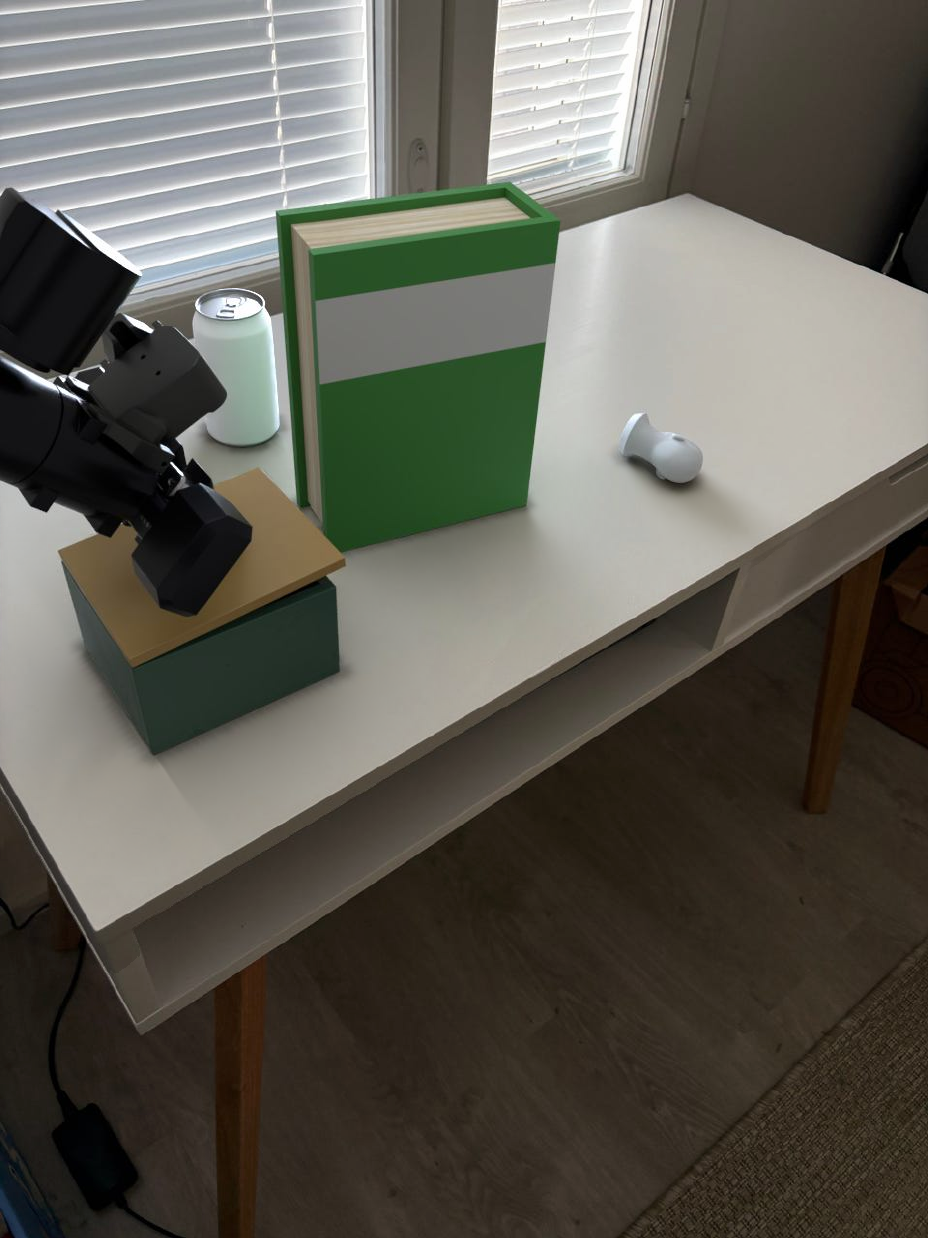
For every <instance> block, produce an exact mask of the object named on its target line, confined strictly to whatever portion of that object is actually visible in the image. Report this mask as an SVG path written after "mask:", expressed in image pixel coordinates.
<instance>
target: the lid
mask: <svg viewBox="0 0 928 1238" xmlns="http://www.w3.org/2000/svg"><path fill="white" fill-rule="evenodd" d="M213 485H214V490H215V491H216V492H218V493H219V494H220V495H222V496H223V497H224V498H226V499H227V500H229V501H230V502H231V503H232V504H233V505H234V506H235V507H236V509H237V510H238V511H239V512H240V513H241V514H242V515H243V516H244V518H245V519H246V520H247V521H248V522H249V523H250V524H251V525H252V527H253V530H252V541H251V542H250V544H249V545H248V546H247V548H246V549H245V550H244V552H243V553H242V555H241V556H240V557H239V559H238V560H237V561H236V563H235V564H234V565H233V567H232V568H231V570H230V571H229V572H228V574H227V575H226V576H225V578H224V579H223V580H222V582H221V583H220V585H219V586H218V587H217V589H216V590H215V591H214V593H213V594H212V595H211V597H210V598H209V599H208V601H207V602H206V604H205V605H204V606H203V608H202V609H201V610H200V612H199V613H198V614H197V615H196V616H191V617H184V616H181V615H178V614H175V613H172V612H169V611H166V610H163V609H161V608H160V607H159V606H158V605H157V603H156V602H155V601H154V599H153V598H152V596H151V595H150V594H149V592H148V591H147V589H146V588H145V587H144V585H143V584H142V582H141V581H140V580H139V578H138V577H137V576H136V574H135V571H134V567H133V562H132V558H131V554H132V553H133V551H134V550H135V549H136V547H137V546H138V544H137V542H136V541H135V537H136V536H137V535H138V534H137V533H136V531H135V530H134V529H133V527H128V526H124V525H123V523H121V524H120V526H119V527H118V529H117V530H116V531H115V533H114V534H113V536H112V537H111V538H109V537H107V536H104V535H102V534H99V533H96V534H93V535H91V536H89V537H86V538H84V539H82V540H79V541H77V542H74V543H72V544H70V545H67V546H64V547H62V548H60V549H58V550H57V554H58V556H59V558H60V561H61V560H62V562H63V563H64V565H65V566H66V568H67V569H68V571H69V572H70V574H71V575H72V577H73V579H74V580H75V582H76V583H77V585H78V586H79V588H80V589H81V591H82V592H83V594H84V595H85V597H86V598H87V600H88V601H89V603H90V605H91V606H92V608H93V609H94V611H95V612H96V614H97V615H98V617H99V618H100V620H101V621H102V623H103V624H104V626H105V628H106V629H107V631H108V632H109V634H110V635H111V637H112V638H113V640H114V641H115V643H116V644H117V646H118V647H119V649H120V650H121V652H122V654H123V655H124V657H125V658H126V660H127V661H128V663H129V664H130V666H131V667H132V668H134V667H136V666H138V665H140V664H142V663H144V662H146V661H148V660H150V659H153V658H155V657H157V656H159V655H161V654H163V653H165V652H167V651H169V650H171V649H174V648H176V647H178V646H180V645H182V644H184V643H186V642H188V641H190V640H192V639H194V638H197V637H199V636H201V635H203V634H205V633H207V632H209V631H211V630H213V629H215V628H217V627H220V626H222V625H224V624H226V623H228V622H230V621H232V620H234V619H236V618H238V617H240V616H243V615H245V614H247V613H249V612H251V611H253V610H255V609H257V608H259V607H261V606H263V605H266V604H268V603H270V602H272V601H274V600H276V599H278V598H280V597H282V596H284V595H287V594H289V593H291V592H293V591H295V590H297V589H299V588H301V587H303V586H305V585H307V584H310V583H312V582H314V581H316V580H318V579H320V578H322V577H324V576H328V575H330V574H333V573H336V571H339V570H341V569H343V568H345V567H347V561H346V557H345V556H344V554H343V553H342V552H340V551H339V550H338V549H337V548H336V547H335V546H334V545H333V544H332V543H331V542H330V541H329V540H328V539H327V538H326V537H325V536H324V535H323V532H322V531H321V530H320V529H319V528H318V527H317V526H316V525H315V524H314V523H313V522H312V521H311V520H310V519H309V517H308V516H306V515H305V513H304V512H303V511H302V509H300V507H299V506H297V505H296V504H295V503H294V502H293V501H292V500H291V499H290V498H289V496H287V495H286V493H284V491H283V490H282V489H281V488H280V487H279V486H278V485H277V484H276V482H274V481H273V480H272V479H271V477H269V476H268V474H266V472H265V471H264V470H263V469H262V468H261V467H260V466H257V467H255V468H253V469H249V470H248V471H245V472H243V473H241V474H238V475H235V476H233V477H231V478H228V479H226V480H224V481H222V482H219V483H216V484H213Z"/></svg>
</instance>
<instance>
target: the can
mask: <svg viewBox="0 0 928 1238" xmlns="http://www.w3.org/2000/svg"><path fill="white" fill-rule="evenodd" d="M265 304H266V303H265V300H264V298H263V297H262V296H261V295H260V294H258V293H256V292H254V291H251V290H248V289H243V288H219V289H214V290H211V291H208V292H205V293H203V294H202V295H200V296H199V297H198V298H197V299H196V300H195V302H194V308H195V312H194V315H193V318H192V334H193V341H194V347H195V348H196V349H197V350H198V351H199V352H200V354H201V355H202V357H203V358H204V359H205V361H206V362H207V364H208V365H209V367H210V368H211V369H212V371H213V372H214V374H215V375H216V377H217V378H218V379H219V381H220V382H221V384H222V385H223V387H224V388H225V389H226V391H227V398H226V400H225V402H224V403H223V405H222V406H221V407H220V408H219V409H217V410H216V411H215V412H213V413H207V414H206V415H205V416H204V418H205V419H204V420H205V426H206V430H207V432H208V434H209V435H210V437H212V438H213V439H214V440H215V441H216V442H219V444H223V445H224V446H229V447H234V448H235V447H236V448H247V447H252V446H253V447H254V446H258V445H261V444H263V443H265V442H267V441H269V440H270V439H271V438H272V437H273V436H275V434H276V433H277V432H278V430H279V427H280V411H279V398H278V386H277V385H278V384H277V372H276V362H275V361H276V360H275V349H274V348H275V347H274V339H273V338H274V337H273V336H274V335H273V327H272V326H273V325H272V320H271V316H270V315H269V312H268V311H267V309H266V308H265Z"/></svg>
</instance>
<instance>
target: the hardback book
mask: <svg viewBox="0 0 928 1238" xmlns="http://www.w3.org/2000/svg"><path fill="white" fill-rule="evenodd" d="M275 222H276V234H277V236H276V237H277V248H278V261H279V262H278V263H279V275H280V290H281V291H280V292H281V305H282V318H283V319H282V320H283V332H284V333H283V334H284V345H285V346H284V348H285V355H286V356H285V357H286V358H285V359H286V360H285V361H286V375H287V386H288V387H287V388H288V400H289V401H288V403H289V413H290V427H291V443H292V452H293V453H292V455H293V456H292V457H293V470H294V483H295V484H294V485H295V497H296V504H297V505H298V508H299V509H300V510H302V509H306V508H310V507H311V508H312V510H313V511H314V513H315V515H316V517H317V518H318V520H319V521H320V523H321V525H322V534H323V535H324V536H325V537H326V538H327V539H328V540H329V541H330V542H331V543H332V544H333V545H334V546H335V547H336V548H337V549H338V550H339V551H340V553H343V552H347V551H352V550H356V549H359V548H364V547H367V546H371V545H374V544H378V543H383V542H388V541H391V540H395V539H399V538H403V537H408V536H410V535H415V534H418V533H422V532H426V531H430V530H435V529H439V528H442V527H446V526H450V525H454V524H458V523H463V522H466V521H470V520H471V521H472V520H474V519H478V518H482V517H486V516H491V515H494V514H498V513H502V512H506V511H510V510H514V509H519V508H521V507H526V506H527V505H528V504H527V503H528V497H529V488H530V480H531V479H530V478H531V471H532V464H533V455H534V445H535V439H536V429H537V421H538V414H539V405H540V396H541V387H542V380H543V371H544V362H545V353H546V348H547V347H546V345H547V339H548V329H549V321H550V313H551V312H550V311H551V305H552V295H553V289H554V288H553V287H554V279H555V271H556V270H555V269H556V263H557V254H558V246H559V238H560V229H561V219H560V218H559V217H557V216H556V215H555V214H554V213H552V212H551V211H549V210H548V209H546V208H545V207H544V206H543V205H542V204H541V203H539V202H538V201H536V200H535V199H534V198H533V197H531V196H530V195H528V194H527V193H525V192H524V191H523V190H522V189H520V188H519V187H518V186H516V185H515V184H514V183H512V182H511V181H505V182H496V183H488V184H481V185H474V186H473V185H472V186H463V187H456V188H448V189H440V190H431V191H423V192H416V193H415V192H414V193H408V194H398V195H391V196H382V197H375V198H366V199H358V200H350V201H340V202H335V203H325V204H318V205H310V206H301V207H293V208H285V209H277V210H275Z"/></svg>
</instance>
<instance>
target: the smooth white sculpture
mask: <svg viewBox="0 0 928 1238" xmlns="http://www.w3.org/2000/svg"><path fill="white" fill-rule="evenodd" d="M618 444H619V445H618V447H619V450H620V451H621V453H622V456H623V457H624V458H626V457H630V456H631V457H632V456H638V457H640V458H642V459H644V460H646V461H647V462H648V463H650V464H651V465H652V466H654V467H655V474H656V476H657V477H658V479H661V480H663V481H664V480H669V481H670V482H673V483H677V484H683V483H687V482H690V481H692V480H693V479H695V478H696V477H697V476H698V474H699V473H700V472H701V470H702V467H703V462H704V455H703V452H702V450H701V448H700V447H699V445H697V444H696V443H695V441H694V442H693V441H692V440H690V439H689V438H687V436H684V435H682V434H680V433H676V432H675V433H674V432H670V431H659V430H657V429H656V428H654V427H653V425H652V424H651V423H650V419H649V416H648V413H647V412H646V413H645V412H643V413H634V414H633V415H632V416H631V417H630V419H628V422H627V423H626V424H625V426H624V429H623V431H622V432H621V436H620V439H619V443H618Z"/></svg>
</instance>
